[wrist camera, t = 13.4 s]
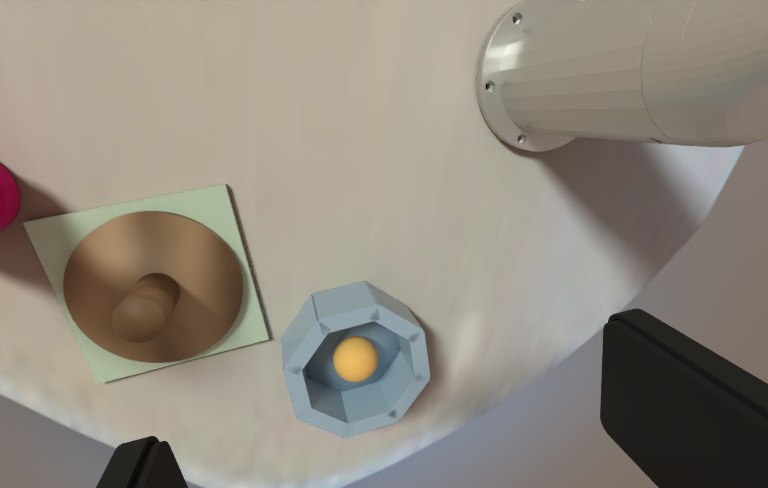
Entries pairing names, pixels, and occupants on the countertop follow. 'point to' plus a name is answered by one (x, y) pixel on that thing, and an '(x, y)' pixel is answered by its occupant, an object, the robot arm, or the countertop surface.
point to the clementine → (355, 359)
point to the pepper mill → (8, 198)
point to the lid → (153, 287)
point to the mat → (203, 205)
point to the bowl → (316, 368)
